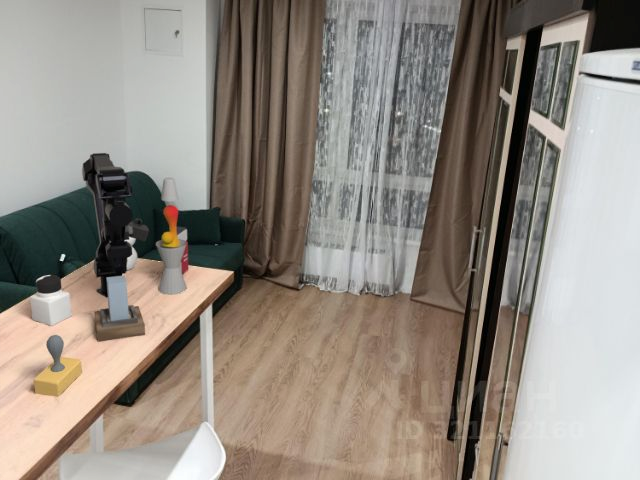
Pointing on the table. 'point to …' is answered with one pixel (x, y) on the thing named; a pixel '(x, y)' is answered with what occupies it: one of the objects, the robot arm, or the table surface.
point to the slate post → (117, 298)
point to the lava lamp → (171, 245)
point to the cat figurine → (133, 258)
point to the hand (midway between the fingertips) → (118, 269)
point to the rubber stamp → (57, 370)
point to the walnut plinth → (119, 325)
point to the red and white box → (184, 261)
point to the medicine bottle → (50, 301)
